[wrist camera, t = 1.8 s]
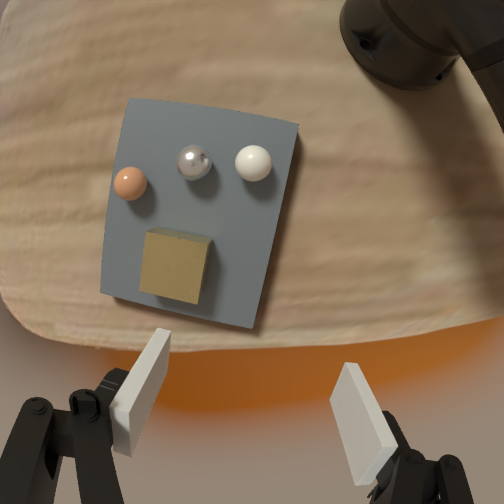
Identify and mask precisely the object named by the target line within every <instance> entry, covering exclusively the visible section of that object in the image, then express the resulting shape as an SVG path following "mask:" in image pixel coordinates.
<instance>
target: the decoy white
mask: <svg viewBox="0 0 504 504" xmlns="http://www.w3.org/2000/svg"><path fill="white" fill-rule="evenodd" d="M235 167H236V170H237V172H238V174H239V175H240V176H241V177H242V178H243V179H245V180H247V181H260V180H262V179H264V178H265V177H266V176H267V175H268V174H269V172H270V170H271V167H272V160H271V156H270V154H269V153H268V152H267V151H266V150H265V149H264V148H262V147H260V146H256V145H251V146H247V147H245V148H243V149H242V150H241V151H240V152H239V153H238V154H237V156H236V159H235Z"/></svg>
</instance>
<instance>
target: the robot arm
mask: <svg viewBox="0 0 504 504" xmlns="http://www.w3.org/2000/svg"><path fill="white" fill-rule="evenodd" d="M340 30H341V34H342V37H343V40H344V42H345V44H346V46H347V48H348V49H349V51H350V52H351V54H352V55H353V57H354V58H355V59H356V60H357V61H358V62H359V64H360V65H361V66H362V67H363V68H365V69H366V70H367V71H368V72H369V73H371V74H372V75H373V76H375V77H376V78H378V79H379V80H381V81H383V82H385V83H387V84H389V85H391V86H393V87H396V88H400V89H404V90H411V91H418V90H424V89H428V88H430V87H432V86H434V85H436V84H438V83H440V82H442V81H443V80H444V79H445V78H447V76H448V75H449V74H450V73H451V71H452V69H453V68H454V66H455V65H456V63H457V61H458V60H459V58H460V56H461V57H462V58H463V60H464V61H465V63H466V64H467V66H468V68H469V69H470V71H471V73H472V75H473V76H474V78H475V80H476V81H477V83H478V85H479V86H480V88H481V90H482V92H483V93H484V95H485V97H486V99H487V101H488V102H489V104H490V106H491V108H492V110H493V112H494V114H495V116H496V118H497V120H498V122H499V124H500V127H501V129H502V131H503V133H504V0H346V2H345V4H344V5H343V7H342V10H341V13H340ZM170 340H171V331H169V330H165V329H161V328H157V329H156V331H155V333H154V334H153V336H152V337H151V339H150V341H149V342H148V344H147V345H146V347H145V349H144V350H143V352H142V353H141V355H140V357H139V358H138V360H137V361H136V363H135V365H134V366H133V368H132V369H131V371H130V372H128V371H125V370H122V369H119V368H115V369H113V370H111V371H109V372H108V373H107V374H106V376H105V377H104V379H103V380H102V381H101V383H100V385H99V386H98V387H97V389H96V390H95V391H93V390H88V389H81V390H77V391H74V392H73V393H72V394H71V395H70V398H69V404H70V409H71V411H64V410H58V409H53V406H52V404H51V403H50V402H49V401H48V400H46V399H44V398H41V397H34V398H30V399H28V400H26V402H25V403H24V404H23V406H22V408H21V410H20V412H19V415H18V417H17V419H16V422H15V424H14V426H13V428H12V431H11V433H10V435H9V438H8V440H7V443H6V445H5V448H4V450H3V453H2V456H1V458H0V504H53V503H54V497H55V492H56V486H57V481H58V477H59V472H60V467H61V463H62V459H63V456H66V457H72V458H75V463H76V471H77V479H78V485H79V491H80V498H81V503H82V504H124V501H123V497H122V494H121V490H120V486H119V483H118V479H117V475H116V470H115V466H114V462H113V457H112V453H111V446H112V445H113V449H114V451H115V452H118V453H121V454H124V455H127V456H130V457H131V456H132V454H133V451H134V449H135V447H136V444H137V442H138V439H139V437H140V435H141V432H142V430H143V427H144V425H145V422H146V420H147V418H148V415H149V413H150V411H151V408H152V406H153V404H154V401H155V399H156V397H157V395H158V392H159V390H160V388H161V385H162V383H163V381H164V378H165V376H166V374H167V369H168V358H169V349H170ZM330 403H331V406H332V409H333V413H334V416H335V419H336V422H337V426H338V429H339V432H340V436H341V439H342V442H343V446H344V449H345V452H346V456H347V460H348V463H349V466H350V470H351V473H352V477H353V480H354V484H355V486H356V485H370V484H371V482H372V481H373V480H374V479H375V477H376V479H377V481H378V484H377V485H376V486H375V487H374V489H373V490H372V491H371V492H370V493H369V495H368V496H367V498H369V497H370V496H371V495H372V497H371V500H370V503H369V504H474V503H473V498H472V495H471V491H470V488H469V485H468V481H467V478H466V475H465V472H464V469H463V465H462V463H461V461H460V460H459V459H458V458H457V457H455V456H453V455H444V456H442V457H441V458H440V459H439V461H431V460H425V458H424V456H423V454H421V453H420V452H419V451H417V450H414V449H411V448H410V446H409V445H408V442H407V440H406V439H405V437H404V435H403V433H402V431H401V429H400V427H399V425H398V423H397V421H396V419H395V417H394V416H393V415H392V414H391V413H389V412H388V411H381V409H380V407H379V405H378V403H377V401H376V399H375V397H374V395H373V393H372V391H371V390H370V387H369V385H368V383H367V381H366V379H365V377H364V375H363V374H362V372H361V369H360V368H359V366H358V364H357V363H348V362H345V364H344V366H343V369H342V371H341V374H340V376H339V379H338V381H337V383H336V386H335V388H334V391H333V393H332V395H331V397H330ZM439 495H440V499H439Z"/></svg>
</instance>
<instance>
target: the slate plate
mask: <svg viewBox="0 0 504 504" xmlns="http://www.w3.org/2000/svg"><path fill="white" fill-rule="evenodd" d="M298 126H299V124H296V123H292V122H288V121H284V120H279V119H275V118H270V117H265V116H260V115H255V114H250V113H245V112H240V111H234V110H228V109H222V108H216V107H210V106H203V105H196V104H188V103H180V102H171V101H162V100H151V99H139V98H129V99H128V103H127V107H126V111H125V115H124V120H123V124H122V128H121V133H120V138H119V142H118V147H117V152H116V158H115V163H114V169H113V174H112V180H111V187H110V193H109V200H108V208H107V215H106V224H105V233H104V243H103V255H102V268H101V286H100V293H103V294H106V295H110V296H114V297H117V298H121V299H125V300H128V301H132V302H136V303H140V304H144V305H147V306H151V307H155V308H159V309H163V310H167V311H172V312H176V313H180V314H184V315H189V316H193V317H197V318H202V319H206V320H211V321H216V322H220V323H225V324H230V325H235V326H240V327H245V328H250V329H253V325H254V321H255V317H256V312H257V308H258V304H259V300H260V296H261V291H262V287H263V283H264V279H265V274H266V270H267V266H268V262H269V257H270V253H271V249H272V244H273V240H274V235H275V231H276V227H277V222H278V218H279V213H280V209H281V204H282V200H283V195H284V191H285V186H286V182H287V177H288V173H289V168H290V164H291V159H292V154H293V150H294V145H295V140H296V136H297V131H298ZM190 145H198V146H201V147H203V148H205V149H206V150H207V151H208V152H209V154H210V156H211V160H212V165H211V169H210V171H209V173H208V174H207V175H206V176H205V177H204V178H202V179H200V180H196V181H191V180H187V179H185V178H183V177H182V176H181V175H180V174H179V173H178V171H177V169H176V158H177V155H178V154H179V152H180V151H181V150H182V149H183V148H185V147H187V146H190ZM251 145H256V146H260V147H262V148H264V149H265V150H266V151H267V152H268V153H269V154H270V156H271V160H272V167H271V170H270V172H269V174H268V175H267V176H266V177H265V178H264V179H262V180H260V181H247V180H245V179H243V178H242V177H241V176H240V175H239V174H238V172H237V170H236V167H235V159H236V156H237V154H238V153H239V152H240V151H241V150H242V149H243V148H245V147H247V146H251ZM126 167H136V168H139V169H140V170H141V171H142V172H143V173H144V174H145V176H146V179H147V187H146V190H145V192H144V194H143V195H142V196H141V197H140V198H138V199H136V200H133V201H126V200H123V199H121V198H120V197H119V196H118V195H117V194H116V192H115V190H114V179H115V177H116V175H117V173H118V172H119V171H120V170H122V169H123V168H126ZM154 227H160V228H164V229H169V230H174V231H179V232H184V233H189V234H193V235H198V236H203V237H208V238H212V243H211V248H210V254H209V259H208V265H207V270H206V276H205V282H204V287H203V293H202V296H201V298H200V300H199V302H198V304H193V303H188V302H184V301H180V300H175V299H171V298H167V297H163V296H159V295H155V294H151V293H147V292H143V291H139V288H140V278H141V268H142V260H143V251H144V243H145V236H146V231H148V230H150V229H152V228H154Z"/></svg>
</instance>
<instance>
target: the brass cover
mask: <svg viewBox="0 0 504 504" xmlns="http://www.w3.org/2000/svg"><path fill="white" fill-rule="evenodd" d="M211 243H212V238H208V237H203V236H198V235H193V234H189V233H184V232H179V231H174V230H169V229H164V228H160V227H154V228H152V229H150V230H148V231H146V236H145V243H144V251H143V260H142V268H141V278H140V288H139V291H143V292H147V293H151V294H155V295H159V296H163V297H167V298H171V299H175V300H180V301H184V302H188V303H193V304H198V302H199V300H200V298H201V296H202V293H203V287H204V282H205V276H206V270H207V265H208V259H209V254H210V248H211Z"/></svg>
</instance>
